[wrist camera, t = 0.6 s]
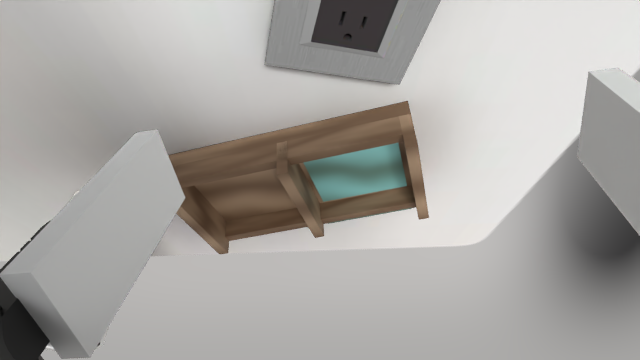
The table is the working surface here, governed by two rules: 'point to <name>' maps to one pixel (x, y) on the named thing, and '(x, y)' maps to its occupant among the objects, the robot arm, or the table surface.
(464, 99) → the table surface
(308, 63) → the electrical outlet
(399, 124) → the caddy
